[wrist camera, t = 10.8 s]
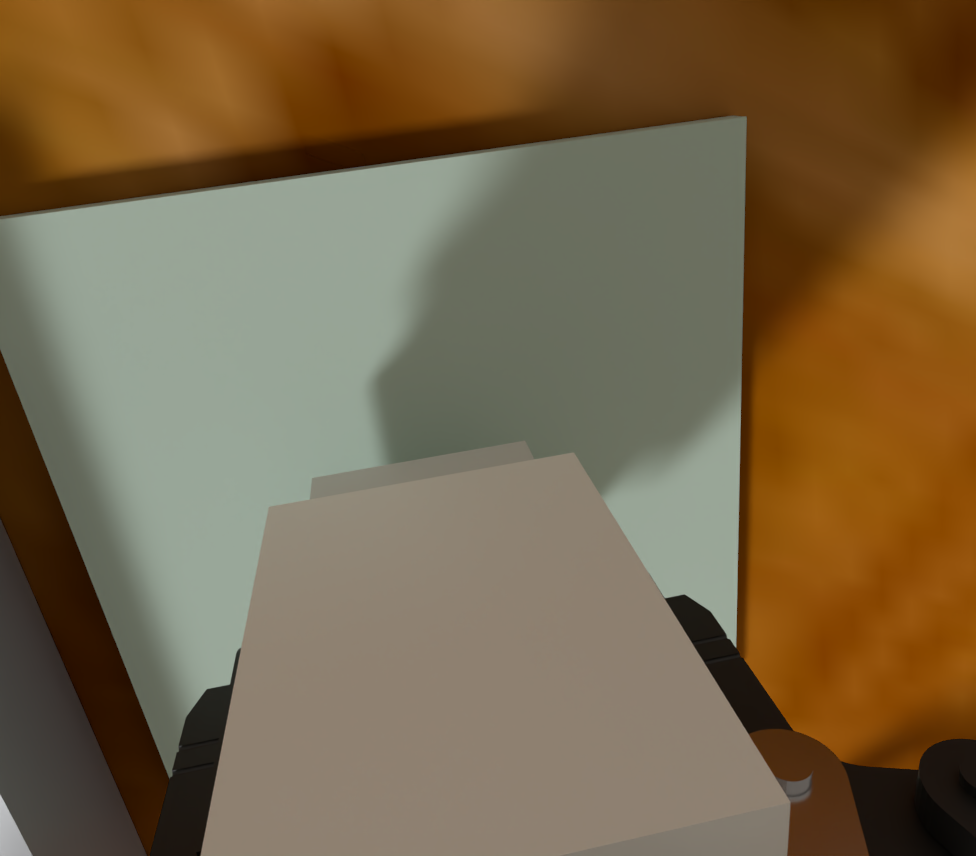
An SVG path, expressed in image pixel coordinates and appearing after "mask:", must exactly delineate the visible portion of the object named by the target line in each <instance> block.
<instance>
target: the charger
mask: <svg viewBox="0 0 976 856" xmlns="http://www.w3.org/2000/svg"><path fill="white" fill-rule="evenodd" d="M790 803H791V802H790V801H789V799H788V797H787V796H786V794H785V792H784V791H783V789H782V788H781V786H780V784H779V783H778V781H777V780H776V778H775V776H774V775H773V773H772V771H771V770H770V768H769V767H768V765H767V763H766V762H765V760H764V759H763V757H762V755H761V754H760V752H759V750H758V749H757V747H756V746H755V744H754V742H753V741H752V739H751V738H750V736H749V734H748V733H747V731H746V729H745V728H744V726H743V725H742V723H741V721H740V720H739V718H738V717H737V715H736V713H735V712H734V710H733V708H732V707H731V705H730V704H729V702H728V700H727V699H726V697H725V696H724V694H723V692H722V691H721V689H720V688H719V686H718V684H717V683H716V681H715V679H714V678H713V676H712V675H711V673H710V671H709V670H708V668H707V667H706V665H705V663H704V662H703V660H702V658H701V657H700V655H699V654H698V652H697V650H696V649H695V647H694V646H693V644H692V642H691V641H690V639H689V637H688V636H687V634H686V633H685V631H684V629H683V628H682V626H681V625H680V623H679V621H678V620H677V618H676V616H675V615H674V613H673V612H672V610H671V608H670V607H669V605H668V604H667V602H666V600H665V599H664V597H663V595H662V594H661V592H660V591H659V589H658V587H657V586H656V584H655V583H654V581H653V579H652V578H651V576H650V575H649V573H648V571H647V570H646V568H645V566H644V565H643V563H642V562H641V560H640V558H639V557H638V555H637V554H636V552H635V550H634V549H633V547H632V545H631V544H630V542H629V541H628V539H627V537H626V536H625V534H624V533H623V531H622V529H621V528H620V526H619V524H618V523H617V521H616V520H615V518H614V516H613V515H612V513H611V512H610V510H609V508H608V507H607V505H606V503H605V502H604V500H603V499H602V497H601V495H600V494H599V492H598V491H597V489H596V487H595V486H594V484H593V482H592V481H591V479H590V478H589V476H588V474H587V473H586V471H585V470H584V468H583V466H582V465H581V463H580V461H579V460H578V458H577V457H576V455H575V453H574V452H573V453H567V454H562V455H556V456H551V457H545V458H539V459H534V457H533V455H532V453H531V451H530V449H529V447H528V445H527V443H526V441H519V442H514V443H508V444H502V445H497V446H491V447H485V448H480V449H474V450H468V451H462V452H457V453H451V454H445V455H440V456H434V457H428V458H423V459H417V460H411V461H406V462H400V463H394V464H389V465H383V466H377V467H371V468H366V469H360V470H354V471H349V472H343V473H337V474H332V475H326V476H320V477H315V478H312V483H311V493H310V500H304V501H298V502H293V503H287V504H282V505H276V506H270V507H269V509H268V514H267V519H266V524H265V529H264V534H263V539H262V544H261V549H260V554H259V560H258V565H257V570H256V575H255V580H254V585H253V590H252V595H251V600H250V605H249V611H248V616H247V621H246V626H245V631H244V636H243V641H242V646H241V651H240V657H239V662H238V667H237V672H236V677H235V682H234V687H233V692H232V697H231V702H230V708H229V713H228V718H227V723H226V728H225V733H224V738H223V743H222V748H221V753H220V759H219V764H218V769H217V774H216V779H215V784H214V789H213V794H212V799H211V804H210V810H209V815H208V820H207V825H206V830H205V835H204V840H203V845H202V850H201V856H787V851H788V835H789V819H790Z"/></svg>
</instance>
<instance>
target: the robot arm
mask: <svg viewBox="0 0 976 856" xmlns="http://www.w3.org/2000/svg"><path fill="white" fill-rule="evenodd" d="M649 575H650V574H649ZM650 576H651V575H650ZM651 578H652V577H651ZM653 581H654V580H653ZM654 583H655V582H654ZM655 584H656V583H655ZM656 586H657V585H656ZM658 589H659V588H658ZM659 591H660V590H659ZM661 594H662V593H661ZM663 597H664V596H663ZM664 599H665V600H666V602H667V604H668V605H669V607H670V608H671V610H672V612H673V613H674V615H675V616H676V618H677V620H678V621H679V623H680V625H681V626H682V628H683V629H684V631H685V633H686V634H687V636H688V637H689V639H690V641H691V642H692V644H693V646H694V647H695V649H696V650H697V652H698V654H699V655H700V657H701V658H702V660H703V662H704V663H705V665H706V667H707V668H708V670H709V671H710V673H711V675H712V676H713V678H714V679H715V681H716V683H717V684H718V686H719V688H720V689H721V691H722V692H723V694H724V696H725V697H726V699H727V700H728V702H729V704H730V705H731V707H732V708H733V710H734V712H735V713H736V715H737V717H738V718H739V720H740V721H741V723H742V725H743V726H744V728H745V729H746V731H747V733H748V734H749V736H750V738H751V739H752V741H753V742H754V744H755V746H756V747H757V749H758V750H759V752H760V754H761V755H762V757H763V759H764V760H765V762H766V763H767V765H768V767H769V768H770V770H771V771H772V773H773V775H774V776H775V778H776V780H777V781H778V783H779V784H780V786H781V788H782V789H783V791H784V792H785V794H786V796H787V797H788V799H789V801H790V802H791V803H790V819H789V835H788V851H787V856H976V740H970V739H951V740H946V741H942V742H939V743H937V744H934V745H933V746H931V747H930V748H928V749H927V750H926V752H925V753H924V754H923V756H922V758H921V760H920V764H919V770H910V769H895V768H879V767H866V766H857V765H853V764H848V763H844V762H841V761H840V760H839V759H838V757H837V756H836V755H835V754H834V753H833V752H832V751H831V750H830V749H829V748H827V747H826V746H825V745H823V744H822V743H820V742H819V741H817V740H815V739H813V738H811V737H809V736H807V735H804V734H802V733H799V732H795V731H793V729H792V728H791V727H790V725H789V724H788V722H787V721H786V720H785V718H784V717H783V715H782V714H781V712H780V711H779V709H778V708H777V707H776V705H775V704H774V702H773V701H772V699H771V698H770V696H769V695H768V694H767V692H766V691H765V689H764V688H763V686H762V685H761V683H760V682H759V681H758V679H757V678H756V676H755V675H754V673H753V672H752V670H751V669H750V668H749V666H748V665H747V663H746V662H745V660H744V659H743V658H741V657H740V654H739V652H738V650H737V649H736V647H735V646H734V644H733V643H732V641H731V640H730V639H728V638H727V635H726V633H725V631H724V630H723V628H722V627H721V626H720V624H719V623H718V621H717V620H716V618H715V617H714V615H713V614H712V613H711V611H709V610H708V609H706V608H705V607H703V606H702V605H700V604H699V603H697V602H696V601H694V600H693V599H691V598H690V597H688V596H687V595H685V594H684V595H679V596H674V597H669V598H664ZM240 651H241V648H239V649H238V651H237V653H236V657H235V662H234V667H233V672H232V677H231V682H230V685H225V686H220V687H215V688H210V689H206V691H205V692H204V693H203V695H202V696H201V697H200V699H199V700H198V702H197V703H196V704H195V706H194V707H193V708H192V710H191V711H190V712H189V714H188V715H187V716H186V719H185V723H184V726H183V730H182V734H181V738H180V742H179V746H178V747H179V752H177V753H176V757H175V761H174V765H173V768H172V777H170V780H169V784H168V788H167V791H166V795H165V799H164V803H163V807H162V810H161V814H160V818H159V822H158V826H157V830H156V833H155V837H154V841H153V845H152V849H151V853H150V856H201V850H202V845H203V840H204V835H205V830H206V825H207V820H208V815H209V810H210V804H211V799H212V794H213V789H214V784H215V779H216V774H217V769H218V764H219V759H220V753H221V748H222V743H223V738H224V733H225V728H226V723H227V718H228V713H229V708H230V702H231V697H232V692H233V687H234V682H235V677H236V672H237V667H238V662H239V657H240Z"/></svg>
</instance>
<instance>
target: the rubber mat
mask: <svg viewBox="0 0 976 856" xmlns="http://www.w3.org/2000/svg"><path fill="white" fill-rule="evenodd" d="M746 127H747V117H746V116H726V117H719V118H711V119H704V120H697V121H690V122H682V123H675V124H668V125H661V126H653V127H646V128H639V129H631V130H624V131H617V132H610V133H602V134H595V135H588V136H581V137H573V138H566V139H559V140H551V141H544V142H537V143H530V144H522V145H515V146H508V147H500V148H493V149H486V150H479V151H471V152H464V153H457V154H450V155H442V156H435V157H428V158H420V159H413V160H406V161H399V162H391V163H384V164H377V165H370V166H362V167H355V168H348V169H340V170H333V171H326V172H319V173H311V174H304V175H297V176H290V177H282V178H275V179H268V180H260V181H253V182H246V183H239V184H231V185H224V186H217V187H210V188H202V189H195V190H188V191H180V192H173V193H166V194H159V195H151V196H144V197H137V198H130V199H122V200H115V201H108V202H100V203H93V204H86V205H79V206H71V207H64V208H57V209H49V210H42V211H35V212H28V213H20V214H13V215H6V216H0V350H1V353H2V355H3V358H4V360H5V363H6V365H7V368H8V370H9V373H10V376H11V378H12V381H13V383H14V386H15V388H16V391H17V393H18V396H19V398H20V401H21V403H22V406H23V409H24V411H25V414H26V416H27V419H28V421H29V424H30V426H31V429H32V431H33V434H34V436H35V439H36V441H37V444H38V447H39V449H40V452H41V454H42V457H43V459H44V462H45V464H46V467H47V469H48V472H49V474H50V477H51V480H52V482H53V485H54V487H55V490H56V492H57V495H58V497H59V500H60V502H61V505H62V507H63V510H64V513H65V515H66V518H67V520H68V523H69V525H70V528H71V530H72V533H73V535H74V538H75V540H76V543H77V546H78V548H79V551H80V553H81V556H82V558H83V561H84V563H85V566H86V568H87V571H88V573H89V576H90V578H91V581H92V584H93V586H94V589H95V591H96V594H97V596H98V599H99V601H100V604H101V606H102V609H103V611H104V614H105V617H106V619H107V622H108V624H109V627H110V629H111V632H112V634H113V637H114V639H115V642H116V644H117V647H118V650H119V652H120V655H121V657H122V660H123V662H124V665H125V667H126V670H127V672H128V675H129V677H130V680H131V682H132V685H133V688H134V690H135V693H136V695H137V698H138V700H139V703H140V705H141V708H142V710H143V713H144V715H145V718H146V721H147V723H148V726H149V728H150V731H151V733H152V736H153V738H154V741H155V743H156V746H157V748H158V751H159V754H160V756H161V759H162V761H163V764H164V766H165V769H166V771H167V774H168V776H169V779H170V777H172V768H173V765H174V761H175V757H176V753H177V752H179V747H178V746H179V742H180V738H181V734H182V730H183V726H184V723H185V719H186V716H187V715H188V714H189V712H190V711H191V710H192V708H193V707H194V706H195V704H196V703H197V702H198V700H199V699H200V697H201V696H202V695H203V693H204V692H205V691H206V689H210V688H215V687H220V686H225V685H230V682H231V677H232V672H233V667H234V662H235V657H236V653H237V651H238V649H239V648H241V646H242V641H243V636H244V631H245V626H246V621H247V616H248V611H249V605H250V600H251V595H252V590H253V585H254V580H255V575H256V570H257V565H258V560H259V554H260V549H261V544H262V539H263V534H264V529H265V524H266V519H267V514H268V509H269V507H270V506H276V505H282V504H287V503H293V502H298V501H304V500H310V493H311V483H312V478H315V477H320V476H326V475H332V474H337V473H343V472H349V471H354V470H360V469H366V468H371V467H377V466H383V465H389V464H394V463H400V462H406V461H411V460H417V459H423V458H428V457H434V456H440V455H445V454H451V453H457V452H462V451H468V450H474V449H480V448H485V447H491V446H497V445H502V444H508V443H514V442H519V441H526V443H527V445H528V447H529V449H530V451H531V453H532V455H533V457H534V459H539V458H545V457H551V456H556V455H562V454H567V453H573V452H574V453H575V455H576V457H577V458H578V460H579V461H580V463H581V465H582V466H583V468H584V470H585V471H586V473H587V474H588V476H589V478H590V479H591V481H592V482H593V484H594V486H595V487H596V489H597V491H598V492H599V494H600V495H601V497H602V499H603V500H604V502H605V503H606V505H607V507H608V508H609V510H610V512H611V513H612V515H613V516H614V518H615V520H616V521H617V523H618V524H619V526H620V528H621V529H622V531H623V533H624V534H625V536H626V537H627V539H628V541H629V542H630V544H631V545H632V547H633V549H634V550H635V552H636V554H637V555H638V557H639V558H640V560H641V562H642V563H643V565H644V566H645V568H646V570H647V571H648V573H649V574H650V575H651V577H652V579H653V580H654V582H655V583H656V585H657V587H658V588H659V590H660V592H661V593H662V595H663V596H664V598H669V597H674V596H679V595H684V594H685V595H687V596H688V597H690V598H691V599H693V600H694V601H696V602H697V603H699V604H700V605H702V606H703V607H705V608H706V609H708V610H709V611H711V613H712V614H713V615H714V617H715V618H716V620H717V621H718V623H719V624H720V626H721V627H722V628H723V630H724V631H725V633H726V635H727V638H728V639H730V640H731V641H732V643H733V644H734V646H735V647H736V632H737V581H738V531H739V480H740V430H741V379H742V329H743V279H744V228H745V178H746Z"/></svg>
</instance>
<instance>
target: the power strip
mask: <svg viewBox="0 0 976 856" xmlns="http://www.w3.org/2000/svg"><path fill="white" fill-rule="evenodd" d="M0 856H147V854H146V852H145V850H144V847H143V845H142V843H141V841H140V838H139V836H138V834H137V831H136V829H135V827H134V824H133V822H132V820H131V818H130V815H129V813H128V811H127V808H126V806H125V804H124V801H123V799H122V797H121V795H120V792H119V790H118V788H117V785H116V783H115V781H114V779H113V776H112V774H111V772H110V769H109V767H108V765H107V762H106V760H105V758H104V756H103V753H102V751H101V749H100V746H99V744H98V742H97V739H96V737H95V735H94V733H93V730H92V728H91V726H90V723H89V721H88V719H87V716H86V714H85V712H84V710H83V707H82V705H81V703H80V700H79V698H78V696H77V693H76V691H75V689H74V687H73V684H72V682H71V680H70V677H69V675H68V673H67V671H66V668H65V666H64V664H63V661H62V659H61V657H60V654H59V652H58V650H57V648H56V645H55V643H54V641H53V638H52V636H51V634H50V631H49V629H48V627H47V625H46V622H45V620H44V618H43V615H42V613H41V611H40V608H39V606H38V604H37V602H36V599H35V597H34V595H33V592H32V590H31V588H30V585H29V583H28V581H27V579H26V576H25V574H24V572H23V569H22V567H21V565H20V563H19V560H18V558H17V556H16V553H15V551H14V549H13V546H12V544H11V542H10V540H9V537H8V535H7V533H6V530H5V528H4V526H3V523H2V521H1V519H0Z"/></svg>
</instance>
